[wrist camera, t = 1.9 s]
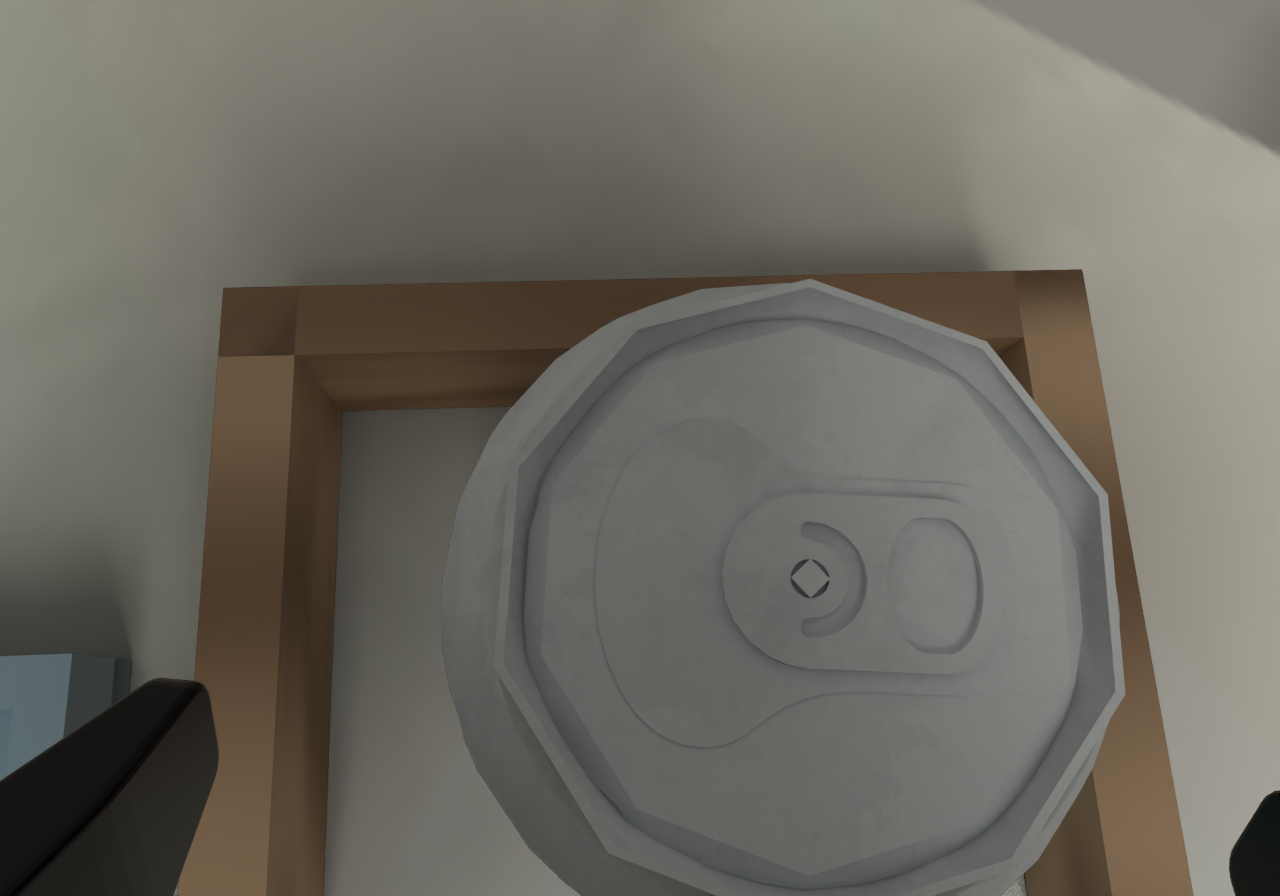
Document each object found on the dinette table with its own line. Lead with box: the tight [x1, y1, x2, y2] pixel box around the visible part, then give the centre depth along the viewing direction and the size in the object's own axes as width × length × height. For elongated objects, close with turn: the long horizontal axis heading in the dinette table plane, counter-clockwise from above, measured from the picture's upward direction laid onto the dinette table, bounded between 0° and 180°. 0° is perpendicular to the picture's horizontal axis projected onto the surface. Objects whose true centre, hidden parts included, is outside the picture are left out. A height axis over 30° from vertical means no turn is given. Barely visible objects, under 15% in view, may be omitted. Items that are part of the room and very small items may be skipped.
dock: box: [178, 269, 1193, 896], centre depth 16 cm, size 11×14×3 cm
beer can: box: [442, 279, 1125, 896], centre depth 12 cm, size 5×5×12 cm
